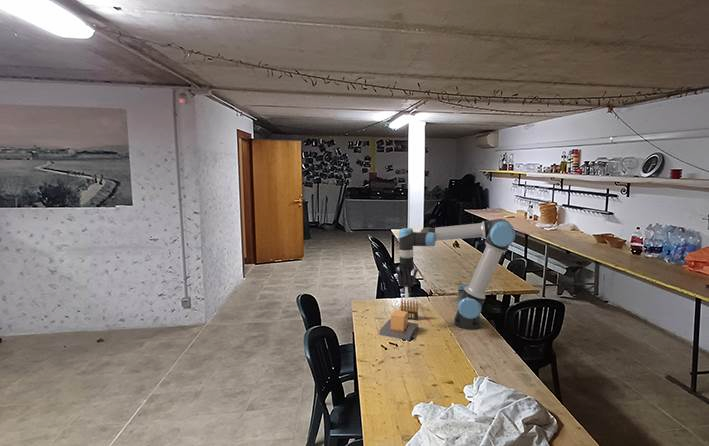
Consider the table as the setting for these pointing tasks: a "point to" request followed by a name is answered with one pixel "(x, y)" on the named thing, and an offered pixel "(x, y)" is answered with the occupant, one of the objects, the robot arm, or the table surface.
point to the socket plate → (399, 334)
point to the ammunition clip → (410, 309)
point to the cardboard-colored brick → (399, 320)
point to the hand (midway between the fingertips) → (407, 297)
